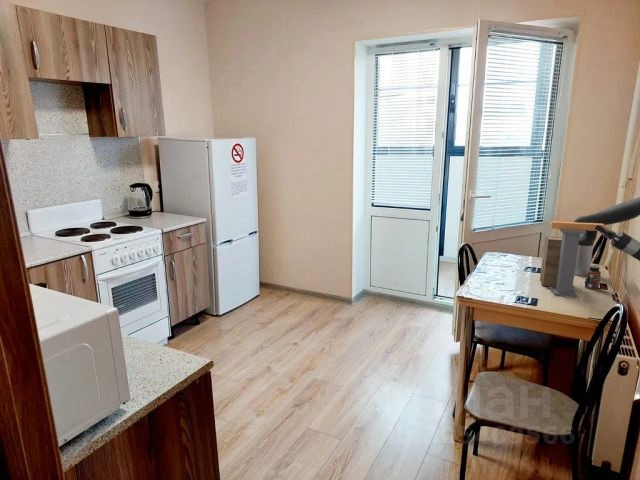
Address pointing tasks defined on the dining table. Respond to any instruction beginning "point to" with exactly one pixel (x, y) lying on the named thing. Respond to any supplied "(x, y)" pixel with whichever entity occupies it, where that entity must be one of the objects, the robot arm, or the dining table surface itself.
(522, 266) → the dining table surface
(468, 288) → the dining table surface
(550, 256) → the tan upright box
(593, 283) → the supplement bottle
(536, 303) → the dining table surface
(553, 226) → the block
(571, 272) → the tall stand
